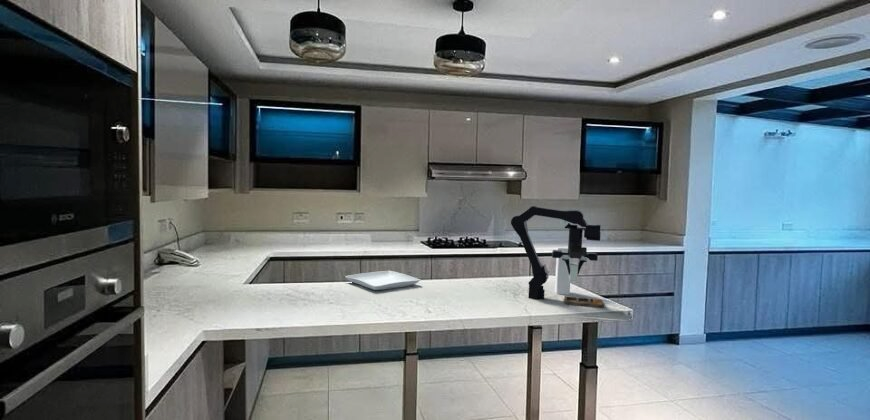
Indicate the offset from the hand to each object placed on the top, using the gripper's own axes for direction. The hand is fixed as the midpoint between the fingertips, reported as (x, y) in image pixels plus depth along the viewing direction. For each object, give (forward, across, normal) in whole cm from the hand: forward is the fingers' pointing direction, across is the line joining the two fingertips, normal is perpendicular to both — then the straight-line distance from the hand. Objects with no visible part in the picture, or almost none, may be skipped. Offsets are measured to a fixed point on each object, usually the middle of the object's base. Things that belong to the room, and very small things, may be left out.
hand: (573, 274), depth 208 cm
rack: (+13, +5, 0) cm, 14 cm away
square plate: (+13, -89, +6) cm, 90 cm away
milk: (+13, -4, +17) cm, 22 cm away
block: (+2, 0, 0) cm, 2 cm away
